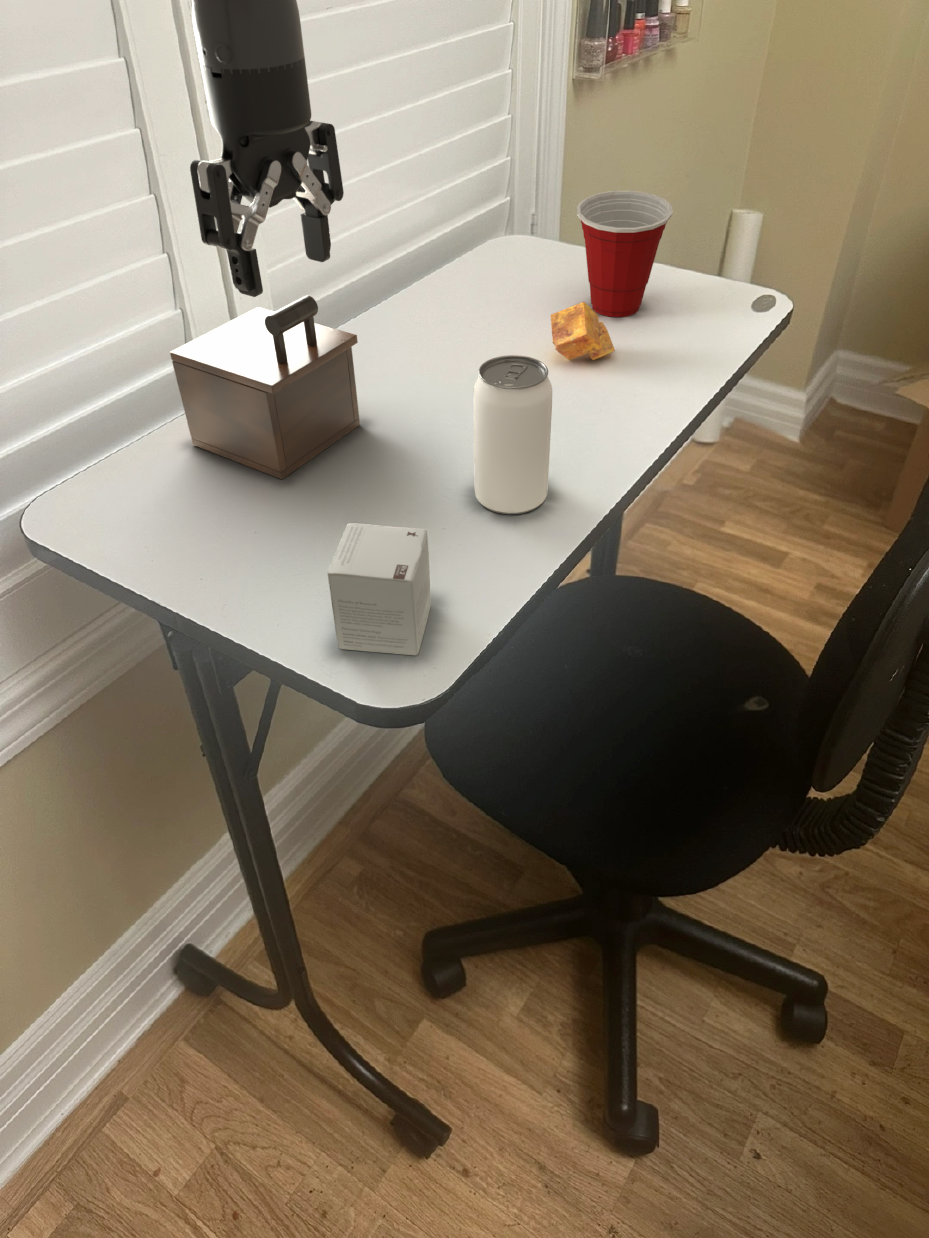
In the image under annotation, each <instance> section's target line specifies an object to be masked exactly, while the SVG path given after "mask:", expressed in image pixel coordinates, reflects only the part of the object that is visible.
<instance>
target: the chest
mask: <svg viewBox="0 0 929 1238" xmlns="http://www.w3.org/2000/svg"><path fill="white" fill-rule="evenodd" d="M171 363H172V367H173V371H174V375H175V379H176V383H177V387H178V391H179V395H180V399H181V402H182V403H181V404H182V408H183V411H184V416H185V419H186V423H187V427H188V430H189V435H190V439H191V443H192V445H193V446H194V447H196V448H199V449H202V450H204V451H207V452H210V453H212V454H215V455H218V456H220V457H223V458H225V459H228V460H231V461H232V462H233V461H234V462H236V463H239V464H241V465H243V466H246V467H248V468H251V469H254V470H257V471H259V472H261V473H264V474H266V475H269V476H272V477H275V478H277V479H280V480H284V479H285V478H287V477H288V476H289V475H291V474H292V473H294V472H295V471H297V470H298V469H299V468H302V466H304V465H305V464H307V463H308V462H309V461H311V460H313V459H314V458H315V457H317V456H318V455H319V454H321V453H323V452H324V451H326V450H327V449H328V448H330V447H331V446H333V445H334V444H335V443H337V442H338V441H340V440H341V439H342V438H344V437H345V436H347V435H348V434H349V433H351V432H352V431H354V430H355V429H357V428H358V427H360V426H361V420H360V411H359V401H358V394H357V385H356V383H357V382H356V374H355V366H354V356H353V346H352V347H350V348H348V349H347V350H345V351H343V352H342V353H340V354H338V355H337V356H335V357H333V358H332V359H330V360H329V361H327V362H325V363H324V364H322V365H320V366H319V367H317V368H315V369H314V370H312V371H310V372H309V373H307V374H306V375H304V376H302V377H301V378H299V379H297V380H296V381H294V382H292V383H291V384H289V385H287V386H286V387H284V388H283V389H281V390H279V391H278V392H276V393H274V394H271V393H268V392H265V391H262V390H259V389H256V388H253V387H251V386H248V385H245V384H242V383H239V382H236V381H233V380H230V379H227V378H224V377H221V376H218V375H215V374H212V373H209V372H206V371H203V370H200V369H197V368H194V367H191V366H188V365H185V364H182V363H179V362H176V361H173V360H171Z"/></svg>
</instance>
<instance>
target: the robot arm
mask: <svg viewBox="0 0 929 1238" xmlns="http://www.w3.org/2000/svg"><path fill="white" fill-rule="evenodd" d="M190 12H191V21H192V27H193V32H194V37H195V38H194V39H195V44H196V48H197V53H198V59H199V64H200V70H201V75H202V80H203V85H204V86H203V87H204V93H205V97H206V102H207V103H206V104H207V108H208V114H209V118H210V122H211V123H210V124H211V125H212V127H213V128H214V130H215V131H216V132H217V133H218V136H219V138H220V140H221V153H220V158H217V159H212V160H209V161H208V160H200V159H194V160H193V161H191V163H190V167H189V171H190V177H191V181H192V182H191V183H192V190H193V195H194V202H195V207H196V214H197V219H198V220H197V221H198V227H199V233H200V238H201V241H202V243H203V244H204V245H206V246H210V247H214V248H215V247H216V248H220V249H223V250H225V251H226V254H227V258H228V263H229V264H228V265H229V269H230V274H231V279H232V284H233V286H234V288H235V289H236V290H238V292H239V293H240V294H242V295H245V296H249V297H252V298H256V297H258V296H260V295H262V294H263V293H264V288H263V281H262V275H261V271H260V265H259V260H258V259H259V257H258V252H257V249H256V248H254V243H255V240H256V236H257V233H258V229H259V226H260V225H261V224H263V223H264V222H265V220H266V219H267V216H268V215H267V214H268V213H269V208H273V207H275V206H278V205H279V204H280V203H281V202H282V201H283V200H292V199H293V200H294V202H295V203H296V204H297V205H298V207H299V208H300V210H301V211H304V212H303V213H300V221H301V227H302V235H303V242H304V251H305V255H306V257H307V259H309V260H311V261H315V262H319V263H324V262H326V261H328V260H330V258H331V248H332V241H331V234H330V233H331V232H330V224H329V216H328V215H329V214H330V213H331V211H332V205H333V204H334V202H341V201H342V200H343V198H344V185H343V177H342V170H341V164H340V163H341V162H340V157H339V149H338V143H337V136H336V130H335V129H336V128H335V126H334V124H332V123H327V122H323V121H315V120H311V119H312V107H311V99H310V91H309V82H308V72H307V64H306V57H305V50H304V49H305V48H304V40H303V33H302V25H301V16H300V11H299V6H298V1H297V0H190ZM324 172H325V173H326V176H327V181H328V182H326V181H325V174H324ZM243 198H244V200H245V201H247V202H248V203H250V205H245V204H242V200H243ZM241 221H242V224H241V228H240V231H239V232H238V230H239V227H240V223H241Z"/></svg>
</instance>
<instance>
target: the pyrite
mask: <svg viewBox="0 0 929 1238" xmlns="http://www.w3.org/2000/svg"><path fill="white" fill-rule="evenodd" d="M550 326H551V336H552V337H551V338H552V339H551V340H552V344H553V346H554V349H555V351H557V352H558V353H559V354H560V355H562V356H563V357H564V358H565V359H567V360H568V361H570V360H573V359H577V358H579V357H582V356H585V355H589V357H590V359H591V361H595V360H597V359H600V358H602V357H603V356H604V357H605V356H606V355H609V354H611V353H613V352H615V351H616V349H615V346H614V343H613V342H612V339H611V336H610V333H609V331H608V328H607V327H606V325H605V323H604V322H603V320H601V321H600V317H599V315H598V313H596V312H595V311H594V310H593V309H592V307H590V306H589V305H588V304H587V303H586V302H585V301H582V302H580V303H577V304H574V305H571V306H569V307H566V308H563V309H562V310H559V311H556V312H554V313H552V314H550Z"/></svg>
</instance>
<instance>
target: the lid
mask: <svg viewBox="0 0 929 1238" xmlns="http://www.w3.org/2000/svg"><path fill="white" fill-rule="evenodd" d="M318 312H319V305H318V303H317V301H316V299H315V298H314V297H313V296H311V295H304V296H302V297H300V298H298V299H297V300H294V301H293V302H290V303H289V304H287V305H285V306H283V307H281V308H279V309H277V310H275V311H274V310H271V309H267V308H263V307H261V306H257V307H254V308H253V309H251V310H248V311H247V312H245V313H243V314H242V315H239V316H237V317H235V318H234V319H231V320H229V321H228V322H226V323H223V324H222V325H220V326H218V327H216V328H213V329H212V330H209V331H208V332H206V333H204V334H202V335H199V336H198V337H196V338H194V339H192V340H190V341H189V342H186V343H185V344H182V345H180V346H179V347H177V348H175V349H173V350H171V351H169V355H170V359H171V361H176V362H179V363H182V364H185V365H188V366H191V367H194V368H197V369H200V370H203V371H206V372H209V373H212V374H215V375H218V376H221V377H224V378H227V379H230V380H233V381H236V382H239V383H242V384H245V385H248V386H251V387H253V388H256V389H259V390H262V391H265V392H268V393H271V394H274V393H276V392H278V391H279V390H281V389H283V388H284V387H286V386H287V385H289V384H291V383H292V382H294V381H296V380H297V379H299V378H301V377H302V376H304V375H306V374H307V373H309V372H310V371H312V370H314V369H315V368H317V367H319V366H320V365H322V364H324V363H325V362H327V361H329V360H330V359H332V358H333V357H335V356H337V355H338V354H340V353H342V352H343V351H345V350H347V349H348V348H350V347H352V348H353V347H354V346H355V345H356V344H358V342H359V341H358V335H357V334H356V333H351V332H349V331H344V330H340V329H338V328H333V327H330V326H326V325H323V324H319V323H316V322H315V318H314V317H315V316H317V314H318Z"/></svg>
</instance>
